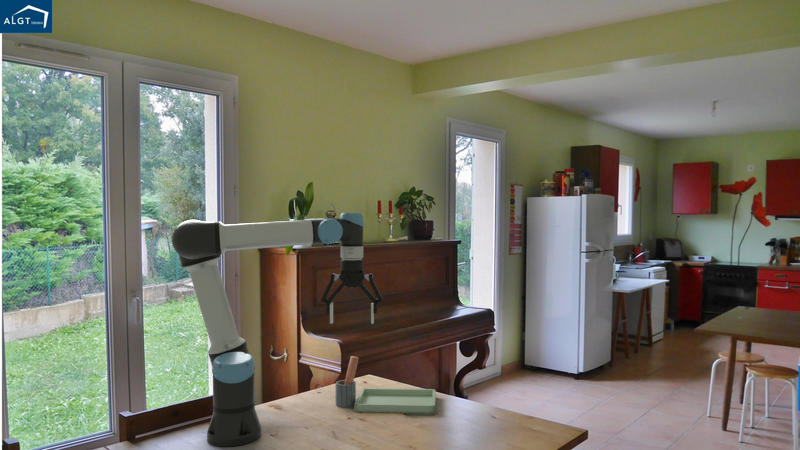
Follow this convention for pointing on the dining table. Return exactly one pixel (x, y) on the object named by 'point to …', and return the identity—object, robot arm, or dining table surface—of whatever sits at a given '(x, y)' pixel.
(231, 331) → the robot arm
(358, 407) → the tray
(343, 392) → the cup
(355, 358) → the pin
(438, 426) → the dining table surface
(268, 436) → the dining table surface
